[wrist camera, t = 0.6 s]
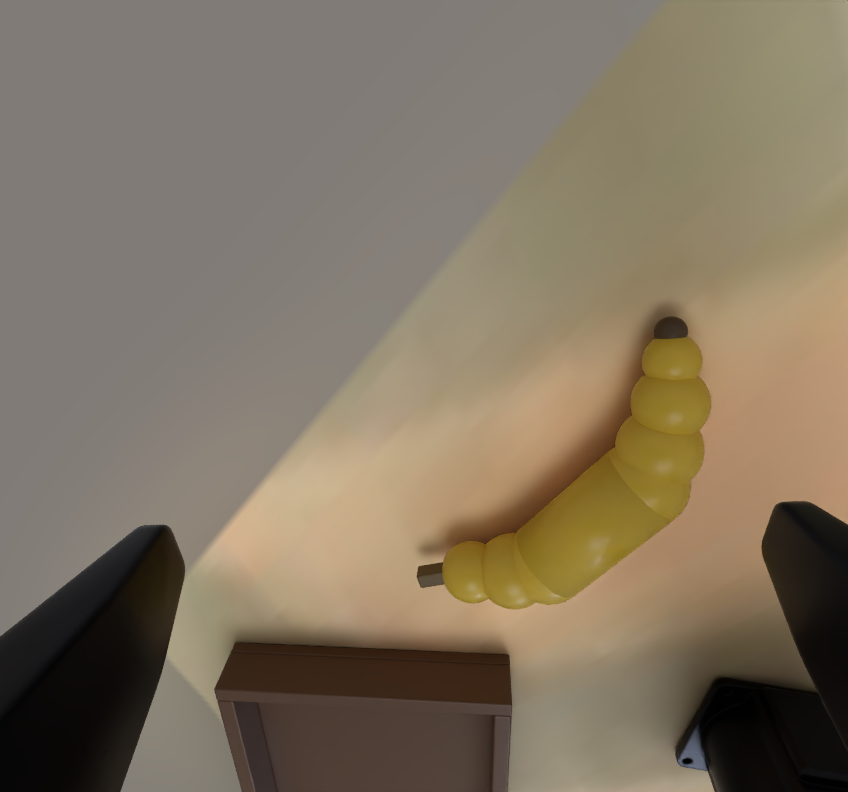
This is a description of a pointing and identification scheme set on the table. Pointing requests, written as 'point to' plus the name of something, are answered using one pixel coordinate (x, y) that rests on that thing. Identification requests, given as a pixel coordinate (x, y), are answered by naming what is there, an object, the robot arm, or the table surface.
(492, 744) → the tray
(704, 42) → the table surface
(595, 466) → the banana
